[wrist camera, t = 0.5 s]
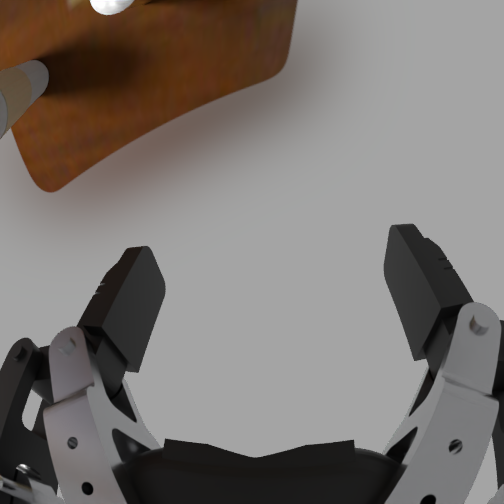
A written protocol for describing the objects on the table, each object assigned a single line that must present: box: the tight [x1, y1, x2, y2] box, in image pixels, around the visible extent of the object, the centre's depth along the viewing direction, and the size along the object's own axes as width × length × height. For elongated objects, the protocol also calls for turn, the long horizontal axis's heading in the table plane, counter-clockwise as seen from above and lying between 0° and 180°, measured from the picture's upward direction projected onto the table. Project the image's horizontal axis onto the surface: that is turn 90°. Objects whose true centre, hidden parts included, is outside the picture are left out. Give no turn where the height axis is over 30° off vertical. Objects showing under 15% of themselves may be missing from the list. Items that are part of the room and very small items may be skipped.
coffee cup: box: [0, 60, 49, 139], centre depth 18 cm, size 9×9×15 cm
